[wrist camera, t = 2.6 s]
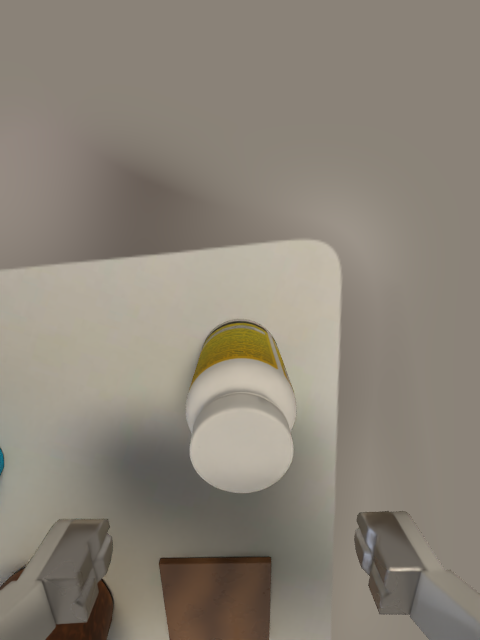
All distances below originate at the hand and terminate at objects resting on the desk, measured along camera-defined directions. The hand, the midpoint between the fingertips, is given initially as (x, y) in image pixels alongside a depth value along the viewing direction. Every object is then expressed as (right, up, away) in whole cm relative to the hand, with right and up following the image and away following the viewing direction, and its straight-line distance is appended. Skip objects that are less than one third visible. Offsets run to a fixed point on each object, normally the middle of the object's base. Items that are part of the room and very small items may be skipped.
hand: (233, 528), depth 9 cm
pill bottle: (0, +4, +14) cm, 14 cm away
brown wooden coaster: (-2, -26, +22) cm, 34 cm away
